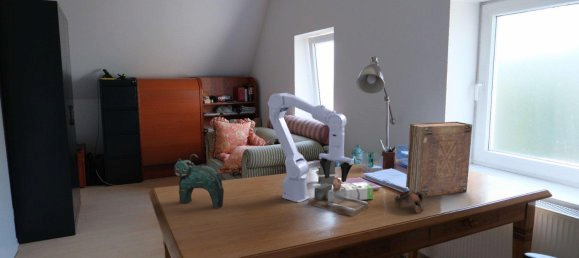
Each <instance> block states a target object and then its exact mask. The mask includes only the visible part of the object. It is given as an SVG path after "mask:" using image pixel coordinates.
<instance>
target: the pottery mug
mask: <svg viewBox="0 0 579 258" xmlns="http://www.w3.org/2000/svg"><path fill="white" fill-rule="evenodd" d="M410 198H411V199H412V201H413V202H414V205H415V206H416V207H415V209H414V210H415V212H416V215H418V214H420V213H421V212H422V211H423V206H422V202H423V200H424V197H423V195H422V193H421V192H416V193H413V192H412V191H406V190H405V191H403V192H401V193H400V194H399V196H398V195H397V196H395V197H394V201H395V203H394V205H396V206H397V205H398V206H399V207H401V206H403V202H404V203H408V204H410V203H411V200H410Z"/></svg>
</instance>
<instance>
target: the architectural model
mask: <svg viewBox="0 0 579 258" xmlns="http://www.w3.org/2000/svg"><path fill="white" fill-rule="evenodd" d="M319 165H320V166H319V167H318V170H316V171H315V174H316V175H317V177H318V179H317V180H318V181H317V182H318V183H320V185H322V184H325V183H328V184H332V186H333V181H334V177H339V174H338V173H337V172H336V161H331V166H330V176H329V178H325V175H324V171H323V168H322V166H321V164H320V163H319Z"/></svg>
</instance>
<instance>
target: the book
mask: <svg viewBox="0 0 579 258" xmlns="http://www.w3.org/2000/svg"><path fill="white" fill-rule="evenodd" d="M472 132H473V124H470V123H465V122H459V121H446V122H445V121H443V122H420V123H418V122H417V123H410V124H409V136H408V150H407V151H408V153H407V154H408V155H407V164H406V183H405V188H406V187H408V188H409V189H410V191H412V193H416V192H421V193H422V195H423V198H426V197H433V196H440V195H449V194H450V195H451V194H459V193H465V192H467V191H468V182H469V180H468V179H469V168H470V158H471V157H470V156H471V145H472Z"/></svg>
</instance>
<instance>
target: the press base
mask: <svg viewBox="0 0 579 258" xmlns="http://www.w3.org/2000/svg"><path fill="white" fill-rule="evenodd" d="M313 188H314V194H313V196H314V197H311V198H309V199H307V204H309V205H312V206H315V207H319V208H322V209H326V210H329V211H333V212H336V213H338V214H339V213H340V214H343V215H347V216H350V217H354V216H355V215H357V214H359V213H360V212H363V211H364V210H366V209H368V208H369V202H367V201H364V200H357V199H353V198H349V197H346V199H345V200H343V201H341V202H339V203H337V204H334V203H331V202H329V203H328V199H327V198H326V193H327V192H328V191H329V190H331V189H333V185H332V184H328V183H325V184H322V185H321V184H319V185H318V186H315V187H313Z"/></svg>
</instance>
